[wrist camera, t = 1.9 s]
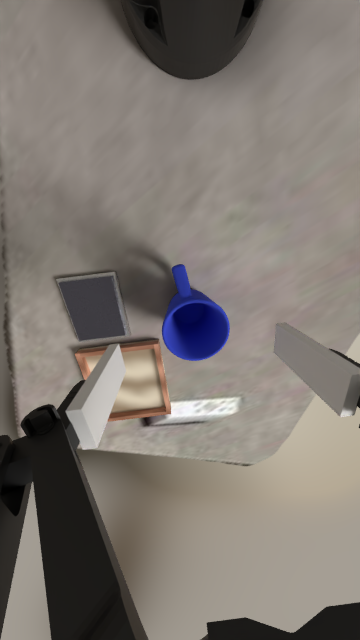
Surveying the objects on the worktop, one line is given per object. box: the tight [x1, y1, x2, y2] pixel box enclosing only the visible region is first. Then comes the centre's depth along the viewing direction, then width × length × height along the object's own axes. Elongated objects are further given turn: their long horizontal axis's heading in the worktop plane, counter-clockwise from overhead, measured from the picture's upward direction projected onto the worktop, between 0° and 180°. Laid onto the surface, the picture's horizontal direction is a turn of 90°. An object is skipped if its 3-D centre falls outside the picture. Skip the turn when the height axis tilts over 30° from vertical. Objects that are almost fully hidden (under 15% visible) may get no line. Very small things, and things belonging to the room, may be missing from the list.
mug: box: [162, 264, 230, 361], centre depth 25 cm, size 8×12×10 cm
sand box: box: [75, 339, 171, 422], centre depth 35 cm, size 17×15×2 cm
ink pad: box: [56, 271, 131, 342], centre depth 29 cm, size 11×9×1 cm
